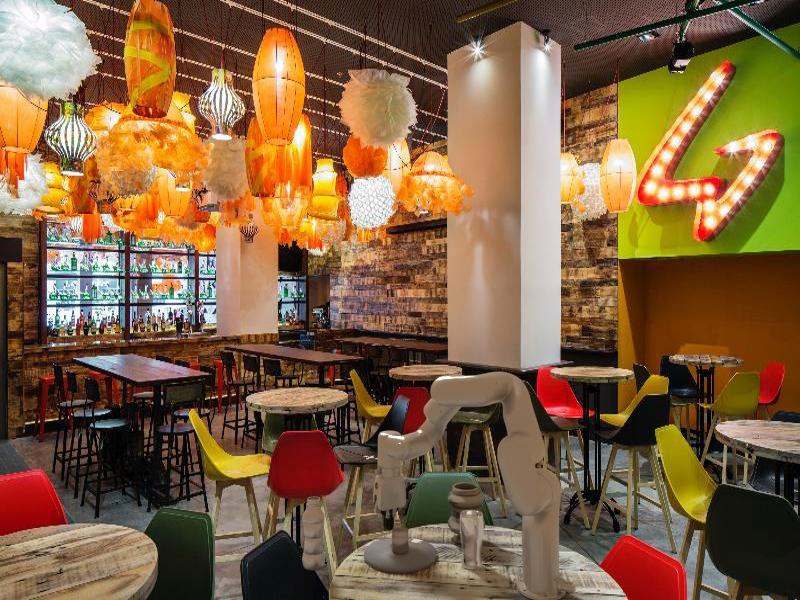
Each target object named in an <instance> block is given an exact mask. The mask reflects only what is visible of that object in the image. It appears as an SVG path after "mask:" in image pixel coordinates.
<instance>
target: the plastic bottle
mask: <svg viewBox="0 0 800 600" xmlns="http://www.w3.org/2000/svg"><path fill="white" fill-rule="evenodd" d="M306 499H307V502H306V506H307V508H305V510H304V512H303V513H302V516H301V518H302V525H303V536H304V537H303V538H304V539H303V540H304V543H303V551H302V552H303V553H302V557H301V558H302V559H301V560H302V565H303V568H304V569H306V570H307V571H318V570H321V569H323V567H324V566H325V564H326V563H325V562H326V555H325V550H324V549H325V548H324V527H325V517H326V516H325V512H324V511H323V509H322V508H321V507H320V506H321V498H320V496H309V497H307V498H306Z"/></svg>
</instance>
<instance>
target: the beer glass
mask: <svg viewBox="0 0 800 600" xmlns="http://www.w3.org/2000/svg"><path fill="white" fill-rule="evenodd" d="M483 520H484V514H483V512H482V511H481V512H480V511H477V510H464V511H462V512H461V513H460V537H461V543H462V547H461V549H462V559H461V567H463V569H465V568H466V570H471V571H476V570H480V569H482V568H483V560H482V547H483V540H484V531H485V528H484V524H483Z"/></svg>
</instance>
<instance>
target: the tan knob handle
mask: <svg viewBox="0 0 800 600" xmlns="http://www.w3.org/2000/svg"><path fill="white" fill-rule="evenodd" d="M391 538H392V552H393V553H395V554H405V553H407V552H408V551H409V541H408V538H409V529H408V527H405V526H402V524H401V519H400V517H394V527H393V529H392V530H391Z"/></svg>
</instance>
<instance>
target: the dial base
mask: <svg viewBox="0 0 800 600" xmlns="http://www.w3.org/2000/svg"><path fill="white" fill-rule="evenodd" d="M408 541H409V551H408V552H407V553H405V554H395V553H393V552H392V537H389V538H384V539H380V540H376V541H374V542H372V543H370V544H369V545H367V546H366V547H365V548H364V551H363V560H364V559H365V560H364V562H365V561H366V562H365V563H366V565H368V566H369V567H370V566H371V569H372V568H373V569H374V570H377V571H379V572H380V571H381V572H385V573H391V574H409V573H414V572H415V573H417V572H420V571H423V570H425V569H428V568H430V567H431V566H433V565H435V563H436V561H437V559H438V557H437V556H438V555H437V549H436V547H435V546H433V545H432V544H431V543H429V542H427V541H425V540H424V539H423V540H421V539H417V538H414V537H413V538H411V537H408Z"/></svg>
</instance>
